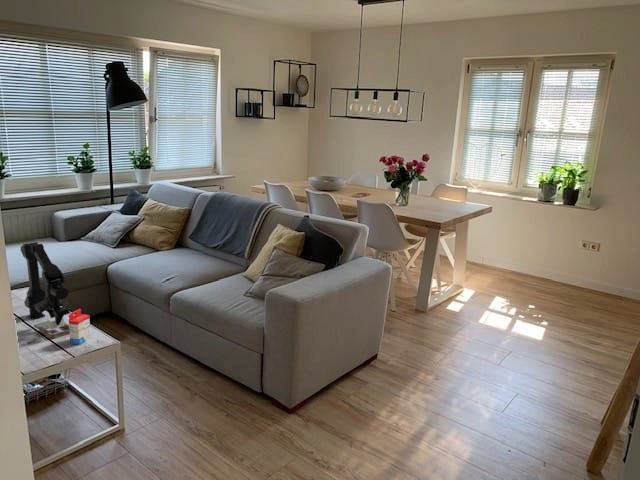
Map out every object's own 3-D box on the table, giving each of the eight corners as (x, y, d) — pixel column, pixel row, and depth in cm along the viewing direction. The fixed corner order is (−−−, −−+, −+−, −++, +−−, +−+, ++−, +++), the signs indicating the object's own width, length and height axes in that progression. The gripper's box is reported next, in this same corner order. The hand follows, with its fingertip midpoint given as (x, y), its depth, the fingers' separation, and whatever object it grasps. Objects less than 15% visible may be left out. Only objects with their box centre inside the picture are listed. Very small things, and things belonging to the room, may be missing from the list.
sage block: (47, 326, 239) (47, 319, 239) (60, 323, 244) (59, 315, 243) (51, 329, 237) (51, 321, 236) (64, 325, 242) (63, 318, 241)
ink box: (79, 345, 228) (77, 315, 225) (69, 343, 229) (67, 314, 226) (91, 337, 236) (89, 309, 233) (82, 336, 237) (80, 307, 234)
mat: (34, 325, 246) (34, 324, 246) (55, 319, 254) (55, 319, 254) (41, 330, 241) (41, 329, 241) (62, 324, 249) (62, 323, 249)
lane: (39, 331, 240) (39, 327, 240) (62, 324, 249) (62, 321, 248) (51, 339, 233) (51, 335, 232) (75, 332, 241) (75, 328, 240)
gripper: (27, 292, 236) (30, 322, 240) (44, 303, 225) (47, 334, 229) (51, 287, 244) (53, 316, 248) (69, 297, 233) (71, 327, 237)
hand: (55, 323), depth 240 cm, fingers closed on sage block, 4 cm apart
